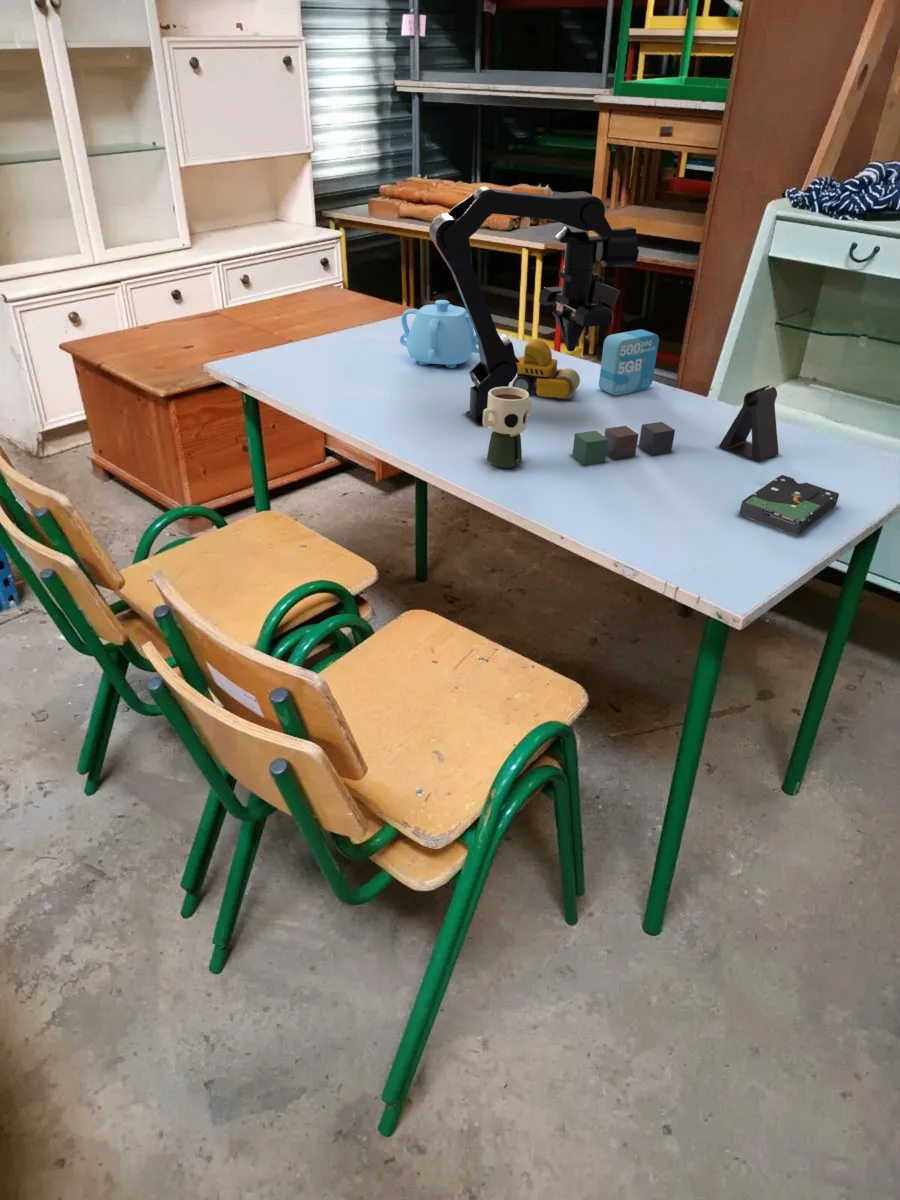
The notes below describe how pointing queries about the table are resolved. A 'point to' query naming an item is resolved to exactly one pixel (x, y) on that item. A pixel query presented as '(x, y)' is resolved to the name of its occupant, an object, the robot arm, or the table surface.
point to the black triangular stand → (754, 427)
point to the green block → (590, 447)
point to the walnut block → (621, 442)
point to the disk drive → (788, 504)
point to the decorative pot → (439, 334)
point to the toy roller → (544, 373)
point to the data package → (628, 362)
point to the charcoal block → (656, 438)
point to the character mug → (506, 424)
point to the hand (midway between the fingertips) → (570, 350)
